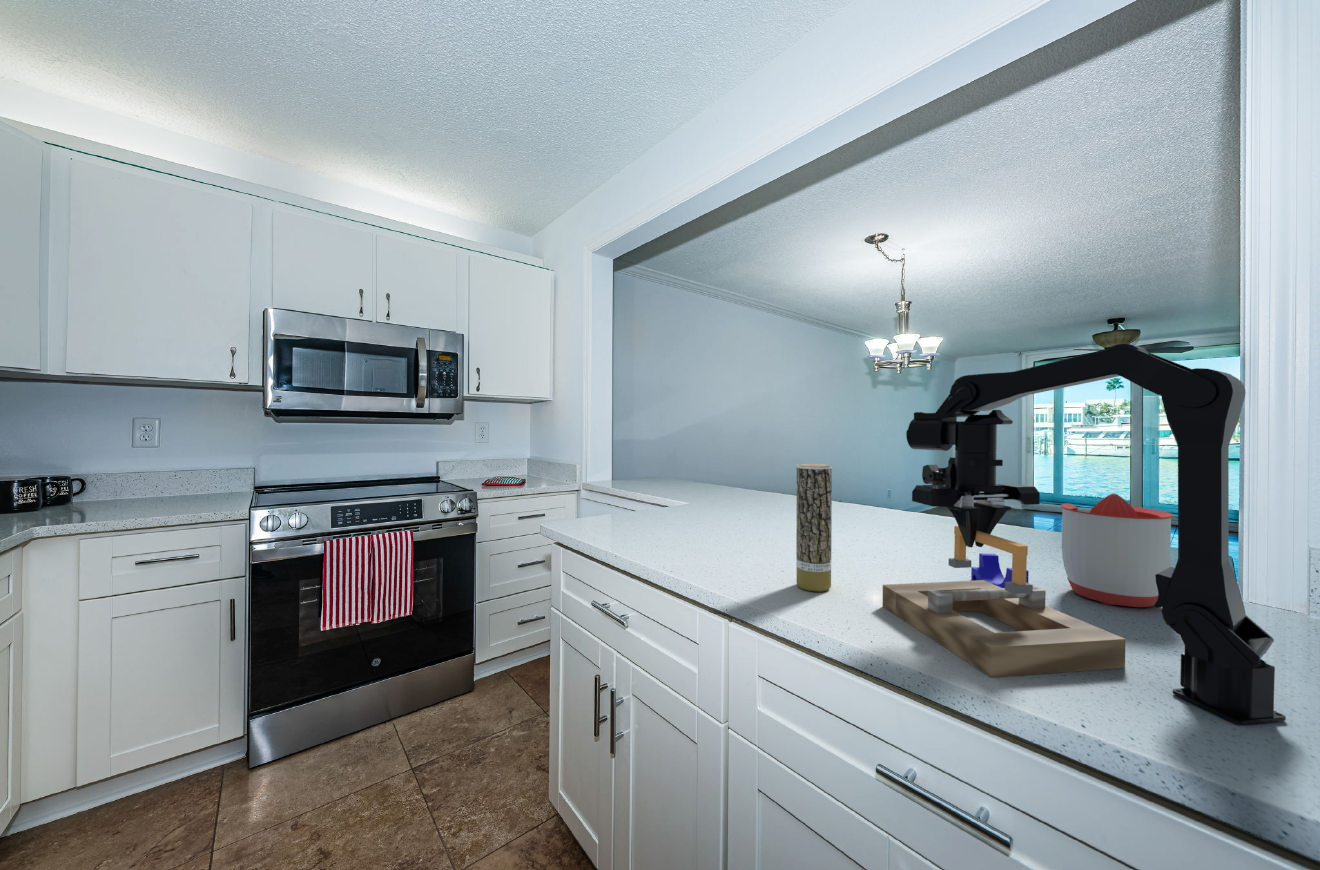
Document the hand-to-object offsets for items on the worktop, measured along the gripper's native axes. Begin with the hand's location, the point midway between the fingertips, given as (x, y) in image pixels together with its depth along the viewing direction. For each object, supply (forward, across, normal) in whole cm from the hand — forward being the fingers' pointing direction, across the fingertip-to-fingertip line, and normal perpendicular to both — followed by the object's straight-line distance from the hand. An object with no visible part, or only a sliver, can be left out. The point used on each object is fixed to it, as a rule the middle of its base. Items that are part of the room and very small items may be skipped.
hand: (974, 546), depth 80 cm
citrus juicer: (+13, -36, -9) cm, 39 cm away
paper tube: (+13, +18, -21) cm, 31 cm away
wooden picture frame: (+13, 0, +3) cm, 13 cm away
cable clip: (+14, -17, -15) cm, 27 cm away
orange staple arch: (+4, 0, +3) cm, 5 cm away
